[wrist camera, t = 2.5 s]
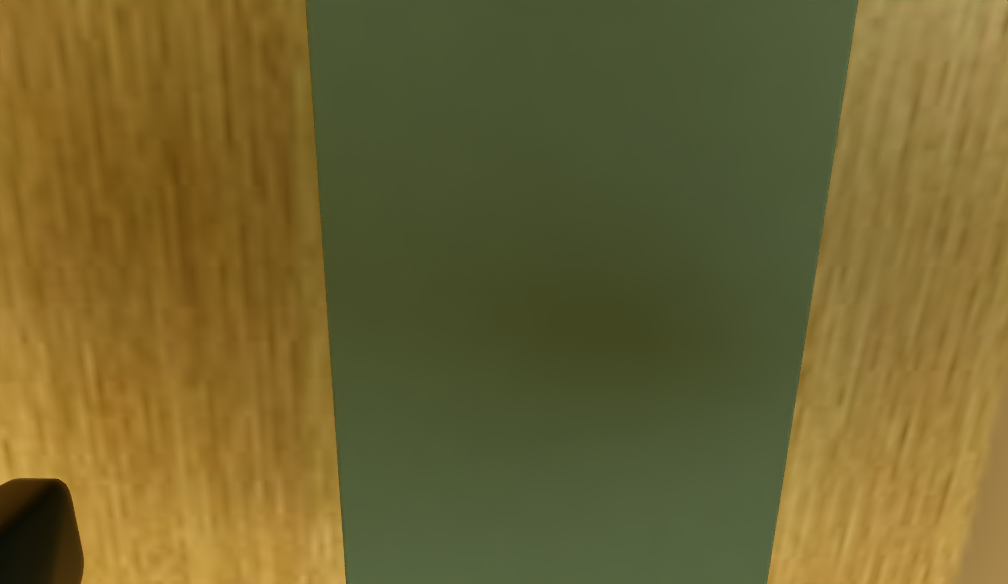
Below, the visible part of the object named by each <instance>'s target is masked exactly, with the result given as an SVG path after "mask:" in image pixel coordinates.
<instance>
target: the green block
mask: <svg viewBox="0 0 1008 584" xmlns="http://www.w3.org/2000/svg"><path fill="white" fill-rule="evenodd" d="M857 5H858V0H306V14H307V28H308V43H309V57H310V71H311V86H312V100H313V114H314V129H315V143H316V157H317V172H318V186H319V201H320V215H321V229H322V244H323V258H324V272H325V287H326V301H327V315H328V330H329V344H330V358H331V373H332V387H333V402H334V416H335V430H336V445H337V459H338V473H339V488H340V502H341V516H342V531H343V545H344V559H345V574H346V584H767V579H768V573H769V566H770V560H771V554H772V547H773V541H774V535H775V528H776V522H777V515H778V509H779V503H780V496H781V490H782V484H783V477H784V471H785V464H786V458H787V452H788V445H789V439H790V433H791V426H792V420H793V413H794V407H795V401H796V394H797V388H798V382H799V375H800V369H801V362H802V356H803V350H804V343H805V337H806V330H807V324H808V318H809V311H810V305H811V299H812V292H813V286H814V279H815V273H816V267H817V260H818V254H819V248H820V241H821V235H822V228H823V222H824V216H825V209H826V203H827V197H828V190H829V184H830V177H831V171H832V165H833V158H834V152H835V145H836V139H837V133H838V126H839V120H840V114H841V107H842V101H843V94H844V88H845V82H846V75H847V69H848V63H849V56H850V50H851V43H852V37H853V31H854V24H855V18H856V12H857Z"/></svg>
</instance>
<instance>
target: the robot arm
mask: <svg viewBox="0 0 1008 584" xmlns="http://www.w3.org/2000/svg"><path fill="white" fill-rule="evenodd" d="M83 568H84V557H83V551H82V546H81V541H80V536H79V531H78V526H77V521H76V517H75V512H74V507H73V502H72V497H71V494H70V491H69V489H68V487H67V485H66V484H65V483H64V482H62V481H61V480H59V479H37V478H18V479H13V480H10V481H8V482H6V483H4V484H2V485H0V584H81V581H82V576H83Z"/></svg>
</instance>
